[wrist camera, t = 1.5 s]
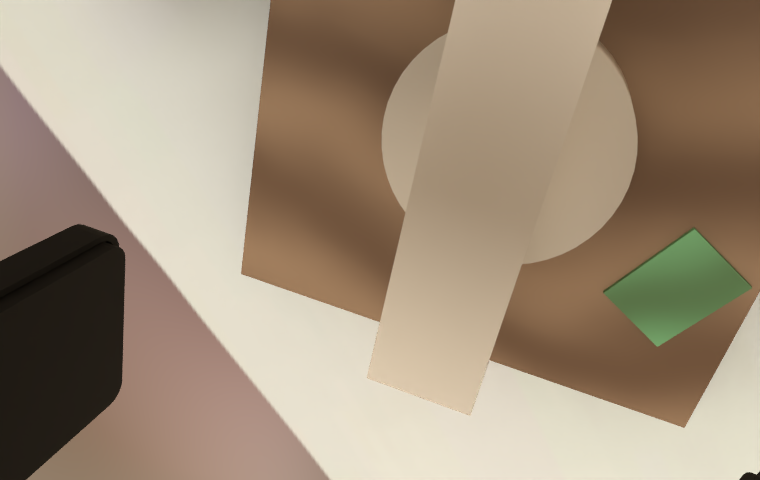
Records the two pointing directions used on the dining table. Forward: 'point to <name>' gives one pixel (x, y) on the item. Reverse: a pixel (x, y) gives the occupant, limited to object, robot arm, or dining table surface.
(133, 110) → the dining table surface
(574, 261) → the dial board
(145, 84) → the dining table surface
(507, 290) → the dial knob
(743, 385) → the dining table surface
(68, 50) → the dining table surface
